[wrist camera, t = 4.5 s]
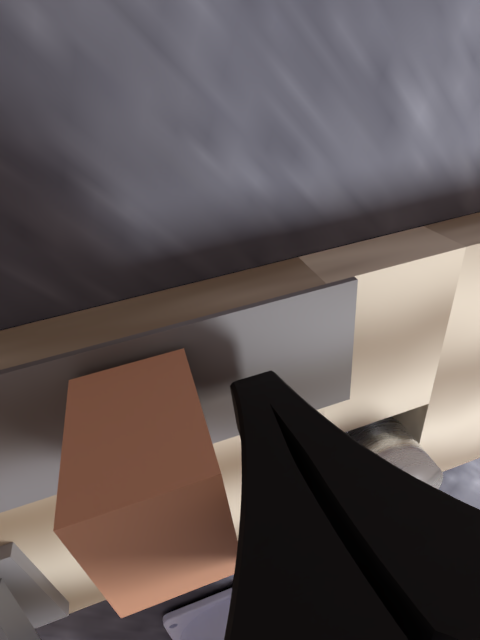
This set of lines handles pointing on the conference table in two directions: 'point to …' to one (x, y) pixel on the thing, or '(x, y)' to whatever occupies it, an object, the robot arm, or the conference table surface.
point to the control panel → (250, 372)
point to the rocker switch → (13, 618)
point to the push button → (398, 449)
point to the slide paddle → (142, 485)
